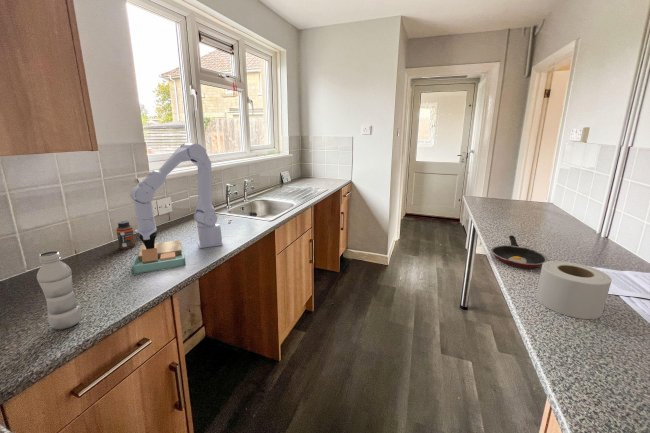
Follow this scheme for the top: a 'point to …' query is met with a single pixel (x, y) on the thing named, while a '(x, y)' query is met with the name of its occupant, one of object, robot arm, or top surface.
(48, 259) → the plastic bottle
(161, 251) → the board
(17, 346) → the top surface
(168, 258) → the tile
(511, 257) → the frying pan
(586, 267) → the roll of tape
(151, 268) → the tray
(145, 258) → the tile
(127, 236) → the supplement bottle
